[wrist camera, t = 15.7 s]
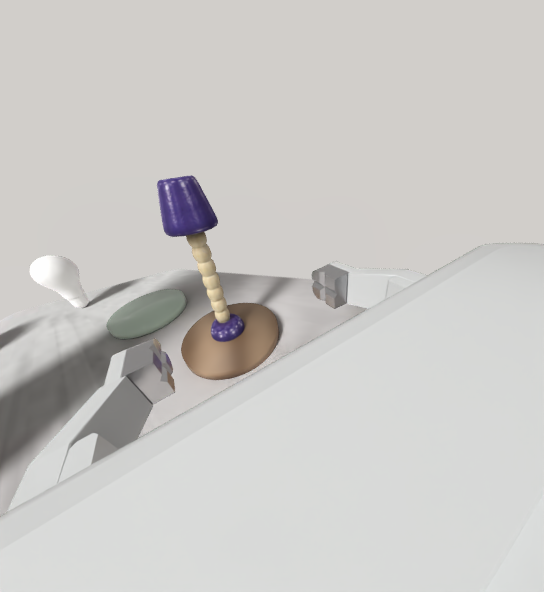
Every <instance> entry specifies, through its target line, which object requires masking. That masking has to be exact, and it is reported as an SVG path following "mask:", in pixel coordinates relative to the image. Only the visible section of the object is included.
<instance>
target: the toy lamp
mask: <svg viewBox="0 0 544 592" xmlns="http://www.w3.org/2000/svg"><path fill="white" fill-rule="evenodd" d="M157 188H158V196H159V203H160V210H161V216H162V222H163V227H164V231H165V233H166V234H167V235H169V236H172V237H177V236H186V237H187V241H188V242H189V244H190V246H192V253H193V256H194V258H195V260H196V261H198V264H197V265H198V270H199V272H200V273H201V274H202V275H203V276H202V280H203V283H204V285H205V287H206V288H207V295H208V297H209V299H210V300H211V306H212V308H213V310H214V311H215V317H216V319H215V320H214V322H213V323H212V326H211V335H212V338H213V339H214V340H216V341H219V342H227V341H231V340H233V339H235V338H237V337H238V336H240V335H241V333H242V332H243V331H244V328H245V325H244V322H243V320H242V319H241V318H240V317H239V316H238V315H235V314H231V313H229V310H228V309H227V303H226V300H225V298H224V297H223V289H222V287H221V286H220V279H219V276H218V274H217V273H216V272H215V271H216V267H215V263H214V262H213V260H212V259H211V251H210V248H209V246H208V245H207V244H206V242H207V239H206V235H205V233H204V231H207V230H209V229H212V228H213V227H215V226H217V223H218V220H217V217H216V216H215V213H214V211H213V209H212V207H211V206H210V204H209V202H208V200H207V198H206V196H205V194H204V193H203V191H202V189H201V187H200V185H199V183H198V182H197V180H196V179H195V177H193V176H184V177H178V178H170V179H165V180H159V181H158V183H157Z"/></svg>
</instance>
